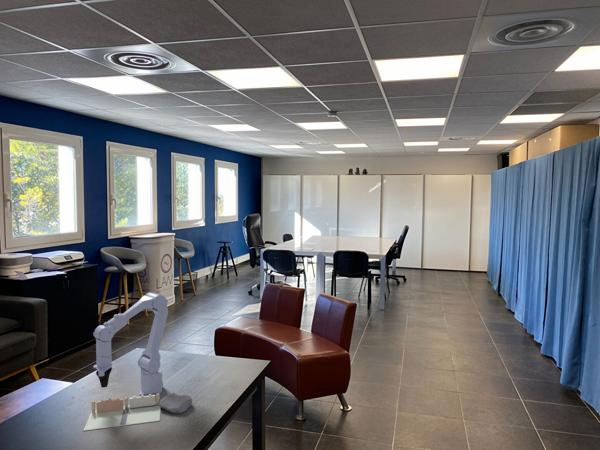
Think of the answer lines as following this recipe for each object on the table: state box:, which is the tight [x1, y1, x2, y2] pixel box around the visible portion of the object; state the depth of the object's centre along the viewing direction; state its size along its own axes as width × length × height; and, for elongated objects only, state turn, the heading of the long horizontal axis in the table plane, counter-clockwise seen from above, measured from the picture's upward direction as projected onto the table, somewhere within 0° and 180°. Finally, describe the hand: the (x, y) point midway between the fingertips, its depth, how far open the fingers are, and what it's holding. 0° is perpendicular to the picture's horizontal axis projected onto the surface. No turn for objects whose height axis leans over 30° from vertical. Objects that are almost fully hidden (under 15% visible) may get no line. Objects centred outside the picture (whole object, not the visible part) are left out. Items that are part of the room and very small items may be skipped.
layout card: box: [83, 401, 162, 432], centre depth 170 cm, size 27×17×1 cm, turn 106°
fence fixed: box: [124, 393, 161, 409], centre depth 176 cm, size 14×1×5 cm, turn 106°
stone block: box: [159, 392, 193, 414], centre depth 176 cm, size 12×5×10 cm
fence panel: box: [90, 397, 125, 413], centre depth 173 cm, size 12×1×5 cm, turn 106°
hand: (104, 386), depth 177 cm, fingers closed
